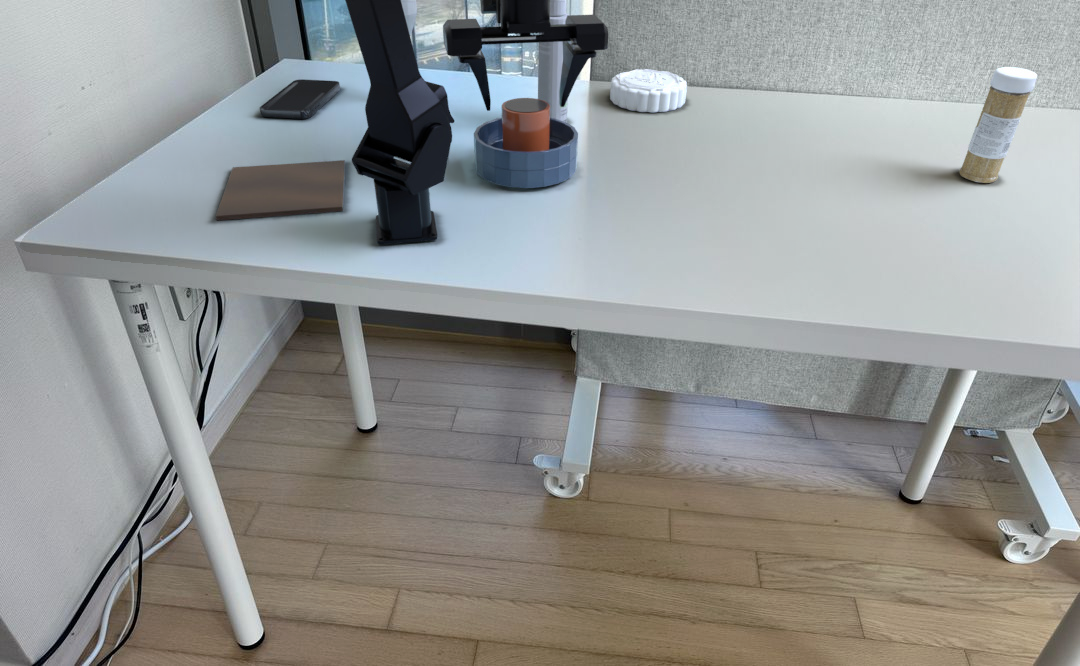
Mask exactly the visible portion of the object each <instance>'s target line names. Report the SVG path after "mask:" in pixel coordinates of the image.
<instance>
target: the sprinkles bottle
mask: <svg viewBox="0 0 1080 666" xmlns="http://www.w3.org/2000/svg"><path fill="white" fill-rule="evenodd" d="M1037 79H1038V74H1037V73H1036V72H1034V71H1032V70H1030V69H1027V68H1022V67H1015V66H1002V67H998V68H996V69H995V70H994V72H993V74H992V77H991V79H990V83H989V85H990V86H989V91H988V93H987V95H986V99H985V101H984V104H983V107H982V110H981V112H980V115H979V118H978V120H977V123H976V125H975V127H974V131H973V133H972V136H971V138H970V141H969V144H968V147H967V152H966V154H965V157H964V160H963V163H962V165H961V167H960V168H959V170H958V171H959V175H960V177H962V178H965V179H966V180H968V181H971V182H975V183H980V184H989V183H994V182H996V181H997V180H998V178H999V172H1000V170H1001V168H1002V165H1003V163H1004V160H1005V158H1006V157H1007V155H1008V152H1009V148H1010V147H1011V144H1012V142H1013V139H1014V137H1015V134H1016V131H1017V129H1018V127H1019V124H1020V121H1021V119H1022V115H1023V111H1024V110H1025V106H1026V103H1027V101H1028V99H1029V96H1030V95H1031V93H1032V92H1033V90H1034V88H1035V86H1036V82H1037Z"/></svg>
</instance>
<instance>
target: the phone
mask: <svg viewBox="0 0 1080 666" xmlns="http://www.w3.org/2000/svg"><path fill="white" fill-rule="evenodd" d="M340 84H341V83H340V82H339V81H337V80H321V79H300V78H299V79H295V80H292V81H291V82H290V83H289V84H288V85H285V87H283V88H282V89H281V90H280V91H278V93H276V94H275V95H274V96H272V97H271V98H269V100H267V101H266V102H264V103H263V104H262V105H261V106H259V111H260V112H259V113H260V116H261V117H263V118H277V119H294V120H295V119H296V120H306V119H309V118H311V117H312V116H314V114H316V113H317V112H318V111H319V110H320V109H321V108H323V106H324V105H326V104H327V103H328V102H329V101H330V100H331V99H332V98H333V97H334V96H335V95H336V94H337V93H339V92H340V91H341V85H340Z"/></svg>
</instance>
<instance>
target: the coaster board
mask: <svg viewBox="0 0 1080 666" xmlns="http://www.w3.org/2000/svg"><path fill="white" fill-rule="evenodd" d="M345 177H346V160H345V159H341V160H327V161H325V160H324V161H310V162H297V163H296V162H295V163H293V162H292V163H281V164H265V165H264V164H262V165H249V166H235V167H234V166H233V167H232V169H231V171H230V175H229V177H228V180H227V183H226V186H225V188H224V190H223V194H222V197H221V200H220V202H219V206H218V207H217V212H216V215H215V219H216V221H228V220H229V221H231V220H243V219H244V220H245V219H256V218H269V217H283V216H284V217H285V216H296V215H297V216H298V215H307V214H308V215H310V214H325V213H336V212H337V213H338V212H344V203H345V202H344V201H345V200H344V199H345V182H346V181H345V180H346V179H345Z"/></svg>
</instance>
